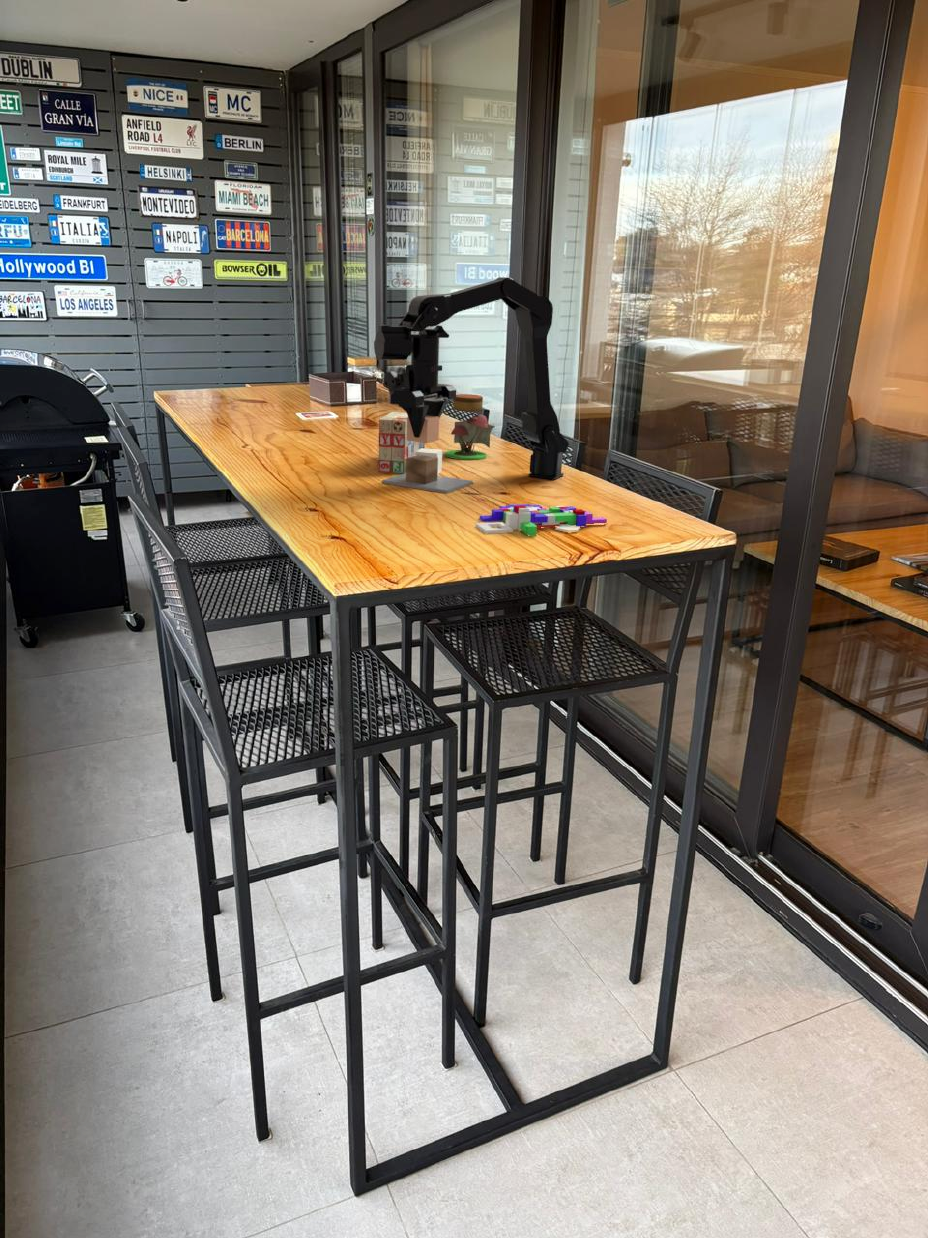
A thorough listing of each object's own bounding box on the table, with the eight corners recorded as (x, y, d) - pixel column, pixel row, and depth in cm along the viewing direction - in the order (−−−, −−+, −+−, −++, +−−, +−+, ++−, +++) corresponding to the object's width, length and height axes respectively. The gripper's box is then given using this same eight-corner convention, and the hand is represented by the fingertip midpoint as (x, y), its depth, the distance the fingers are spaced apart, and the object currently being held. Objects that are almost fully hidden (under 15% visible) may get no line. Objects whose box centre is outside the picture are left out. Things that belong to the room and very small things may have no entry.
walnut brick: (437, 480, 197) (437, 457, 196) (425, 484, 193) (426, 460, 191) (417, 477, 199) (417, 454, 198) (405, 481, 195) (406, 458, 193)
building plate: (472, 483, 199) (472, 480, 198) (447, 493, 189) (447, 490, 188) (410, 474, 205) (410, 471, 205) (381, 483, 195) (381, 480, 195)
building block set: (569, 507, 183) (571, 486, 182) (618, 534, 165) (621, 510, 164) (453, 512, 175) (454, 490, 174) (491, 541, 157) (492, 516, 156)
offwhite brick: (441, 471, 210) (442, 449, 209) (436, 475, 206) (437, 453, 204) (420, 469, 211) (421, 448, 210) (415, 473, 207) (415, 451, 205)
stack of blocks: (400, 456, 226) (401, 406, 222) (424, 458, 225) (426, 408, 221) (377, 472, 206) (378, 418, 202) (404, 474, 205) (405, 419, 201)
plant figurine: (484, 462, 222) (487, 400, 217) (436, 457, 226) (438, 396, 221) (498, 454, 233) (501, 395, 228) (452, 450, 237) (454, 391, 231)
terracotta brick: (438, 440, 194) (439, 416, 193) (427, 443, 190) (427, 419, 188) (418, 437, 196) (418, 414, 195) (406, 440, 192) (407, 416, 190)
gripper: (413, 354, 199) (412, 426, 204) (367, 359, 183) (367, 437, 188) (458, 358, 194) (456, 431, 199) (415, 363, 178) (413, 443, 184)
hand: (423, 435), depth 193 cm, fingers closed on terracotta brick, 5 cm apart
